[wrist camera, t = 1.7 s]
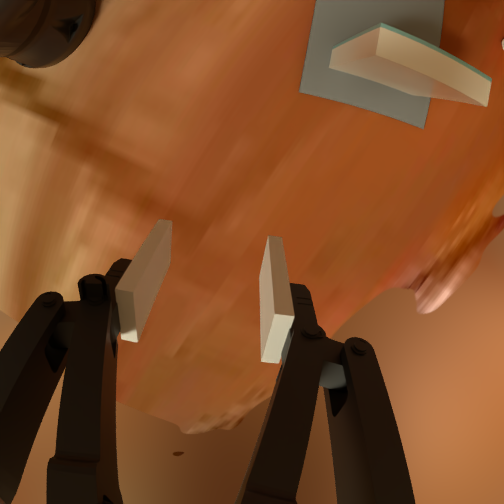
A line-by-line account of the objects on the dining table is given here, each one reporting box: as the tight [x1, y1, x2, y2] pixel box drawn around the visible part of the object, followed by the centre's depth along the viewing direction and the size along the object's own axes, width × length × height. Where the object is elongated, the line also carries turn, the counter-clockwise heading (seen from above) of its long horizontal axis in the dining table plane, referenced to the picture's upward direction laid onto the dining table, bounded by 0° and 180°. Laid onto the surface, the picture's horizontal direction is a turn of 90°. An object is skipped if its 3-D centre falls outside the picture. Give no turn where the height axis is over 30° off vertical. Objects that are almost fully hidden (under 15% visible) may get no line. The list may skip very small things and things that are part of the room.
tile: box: [329, 23, 492, 107], centre depth 25 cm, size 3×12×16 cm, turn 80°
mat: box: [299, 0, 444, 129], centre depth 29 cm, size 24×18×1 cm
